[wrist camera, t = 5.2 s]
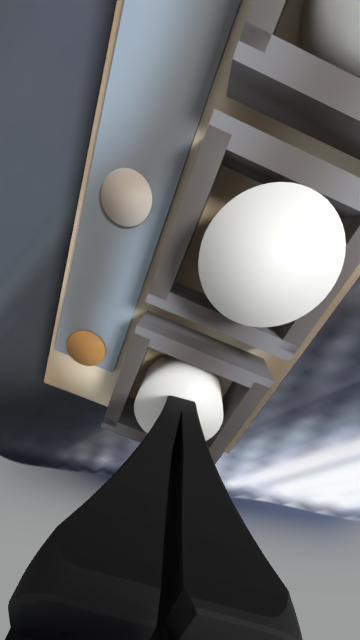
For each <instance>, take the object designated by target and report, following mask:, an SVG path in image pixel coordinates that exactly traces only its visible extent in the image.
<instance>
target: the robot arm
mask: <svg viewBox="0 0 360 640" xmlns="http://www.w3.org/2000/svg"><path fill="white" fill-rule="evenodd" d="M8 611H9V618H10V625H11V628H10V631H9V633H8V635H7V636H6V639H5V640H302V636H301V631H300V627H299V624H298V620H297V617H296V613H295V610H294V607H293V604H292V601H291V598H290V594H289V591H288V590H287V588H286V587H285V585H284V584H283V582H282V581H281V580H280V578H279V577H278V575H277V574H276V572H275V571H274V569H273V568H272V567H271V565H270V564H269V562H268V561H267V559H266V558H265V556H264V555H263V553H262V551H261V550H260V548H259V547H258V545H257V543H256V542H255V540H254V539H253V537H252V535H251V534H250V532H249V530H248V529H247V527H246V525H245V523H244V522H243V520H242V518H241V516H240V515H239V513H238V511H237V509H236V508H235V506H234V504H233V502H232V500H231V498H230V496H229V494H228V492H227V490H226V488H225V486H224V484H223V482H222V480H221V478H220V476H219V473H218V471H217V469H216V466H215V464H214V461H213V459H212V456H211V454H210V451H209V448H208V446H207V443H206V440H205V437H204V434H203V431H202V427H201V424H200V420H199V416H198V412H197V407H196V403H195V402H194V401H190V400H186V399H183V398H179V397H175V396H171V395H170V396H167V400H166V403H165V405H164V407H163V409H162V411H161V413H160V415H159V417H158V418H157V420H156V422H155V423H154V425H153V426H152V428H151V429H150V431H149V432H148V434H147V435H146V436H145V438H144V439H143V441H142V442H141V443H140V445H139V446H138V447H137V448H136V450H135V451H134V452H133V453H132V455H131V456H130V457H129V458H128V459H127V460H126V462H125V463H124V464H123V465H122V466H121V467H120V468H119V469H118V470H117V472H116V473H115V474H114V475H113V476H112V477H111V478H110V479H109V480H108V481H107V482H106V483H105V484H104V485H103V486H102V487H101V488H100V489H99V490H98V491H97V492H96V493H95V494H94V495H92V496H91V497H90V498H89V499H88V500H87V501H86V502H85V503H84V504H83V505H82V506H81V507H79V508H78V509H77V510H76V511H75V512H74V513H72V514H71V515H70V516H69V517H68V518H67V519H65V520H64V521H63V522H62V523H61V524H60V525H59V526H58V527H57V528H56V529H55V530H54V531H53V533H52V534H51V535H50V536H49V538H48V539H47V540H46V542H45V543H44V544H43V545H42V547H41V548H40V550H39V551H38V552H37V554H36V555H35V557H34V558H33V560H32V561H31V563H30V564H29V566H28V567H27V569H26V571H25V572H24V574H23V576H22V578H21V580H20V582H19V584H18V586H17V588H16V589H15V591H14V593H13V595H12V597H11V599H10V601H9V605H8Z"/></svg>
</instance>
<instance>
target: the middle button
mask: <svg viewBox="0 0 360 640" xmlns="http://www.w3.org/2000/svg"><path fill="white" fill-rule="evenodd" d="M345 250H346V240H345V232H344V228H343V224H342V222H341V219H340V217H339V215H338V213H337V212H336V210H335V208H334V207H333V206H332V204H331V203H330V202H329V201H328V200H327V199H326V198H325V197H323V196H322V195H321V194H320V193H318V192H316V191H315V190H313V189H311V188H309V187H306V186H303V185H301V184H296V183H291V182H274V183H267V184H263V185H259V186H256V187H253V188H251V189H248V190H246V191H245V192H243V193H241V194H239V195H237V196H236V197H235V198H233V199H232V200H231V201H229V202H228V203H227V204H226V205H225V206H224V207H223V208H222V209H221V210H220V211H219V212H218V213H217V215H216V216H215V217H214V218H213V219H212V221H211V222H210V224H209V225H208V227H207V229H206V231H205V233H204V236H203V239H202V242H201V247H200V251H199V260H198V269H199V277H200V281H201V285H202V288H203V290H204V292H205V294H206V296H207V298H208V299H209V301H210V302H211V304H212V305H213V306H214V307H215V308H216V309H217V310H218V311H219V312H220V313H221V314H222V315H224V316H225V317H227V318H228V319H230V320H232V321H234V322H237V323H240V324H242V325H246V326H251V327H273V326H279V325H283V324H286V323H289V322H292V321H294V320H296V319H298V318H300V317H302V316H304V315H305V314H307V313H309V312H310V311H311V310H313V309H314V308H315V307H316V306H318V305H319V304H320V303H321V302H322V301H323V300H324V299H325V297H326V296H327V295H328V294H329V292H330V291H331V290H332V288H333V286H334V285H335V283H336V281H337V279H338V277H339V275H340V273H341V270H342V266H343V263H344V258H345Z"/></svg>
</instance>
